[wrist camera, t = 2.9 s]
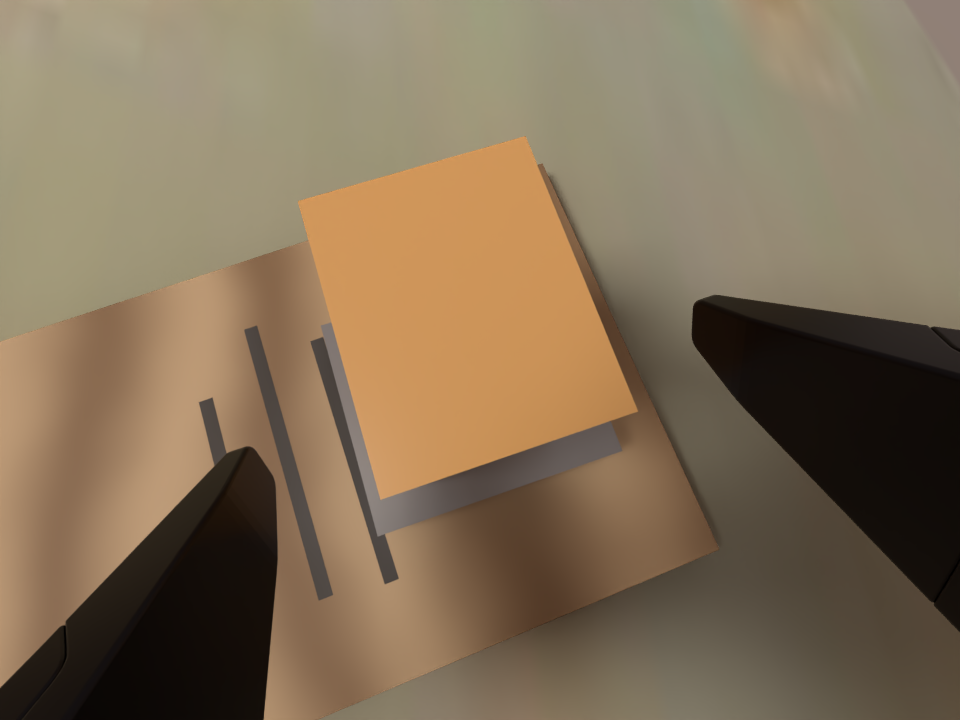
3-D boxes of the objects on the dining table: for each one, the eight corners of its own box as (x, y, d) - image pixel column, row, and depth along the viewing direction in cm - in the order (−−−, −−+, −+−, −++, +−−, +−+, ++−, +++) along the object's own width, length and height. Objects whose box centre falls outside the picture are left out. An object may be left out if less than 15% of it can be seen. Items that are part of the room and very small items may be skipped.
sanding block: (537, 278, 18) (610, 60, 8) (605, 452, 17) (787, 432, 7) (337, 341, 18) (165, 183, 8) (389, 528, 16) (257, 622, 6)
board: (539, 177, 20) (542, 163, 19) (705, 544, 17) (719, 549, 16) (-86, 385, 18) (-119, 380, 17) (-34, 855, 15) (-70, 883, 14)
